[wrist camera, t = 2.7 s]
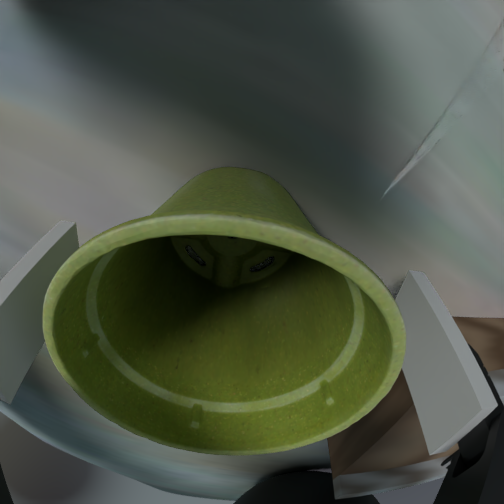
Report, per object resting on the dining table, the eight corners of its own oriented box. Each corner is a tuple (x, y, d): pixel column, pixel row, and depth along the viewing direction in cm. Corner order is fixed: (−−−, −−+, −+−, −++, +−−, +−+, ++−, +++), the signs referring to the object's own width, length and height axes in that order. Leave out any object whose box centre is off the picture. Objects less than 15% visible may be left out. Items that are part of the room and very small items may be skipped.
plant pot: (369, 244, 15) (441, 388, 8) (225, 331, 18) (212, 471, 11) (250, 83, 11) (242, 89, 4) (102, 218, 14) (4, 346, 7)
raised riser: (326, 434, 26) (335, 499, 20) (406, 314, 17) (448, 407, 11) (438, 422, 27) (454, 473, 21) (525, 318, 18) (563, 376, 12)
